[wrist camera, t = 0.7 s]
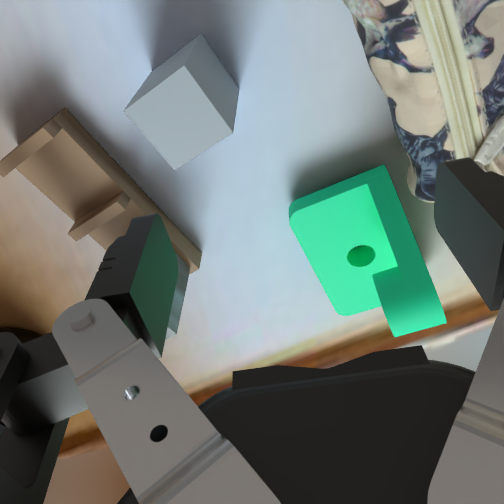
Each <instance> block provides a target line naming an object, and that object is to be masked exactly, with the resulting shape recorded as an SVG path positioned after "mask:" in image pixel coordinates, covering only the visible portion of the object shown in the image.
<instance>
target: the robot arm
mask: <svg viewBox="0 0 504 504" xmlns="http://www.w3.org/2000/svg"><path fill="white" fill-rule="evenodd" d="M434 219H435V224H436V227H437V230H438V232H439V234H440V235H441V237H442V238H443V240H444V241H445V243H446V244H447V246H448V247H449V249H450V250H451V252H452V253H453V255H454V256H455V258H456V259H457V261H458V262H459V264H460V265H461V267H462V268H463V270H464V271H465V273H466V274H467V276H468V277H469V279H470V280H471V282H472V283H473V285H474V286H475V288H476V289H477V291H478V292H479V294H480V295H481V297H482V298H483V300H484V302H485V303H486V305H487V306H488V308H489V309H490V311H494V310H499V312H498V315H497V318H496V320H495V323H494V326H493V328H492V331H491V333H490V336H489V339H488V341H487V344H486V347H485V349H484V352H483V354H482V357H481V360H480V362H479V365H478V368H477V370H476V372H474V371H472V370H469V369H466V368H464V367H461V366H458V365H454V364H450V363H446V362H440V361H434V360H428V359H427V357H426V354H425V352H424V350H423V347H422V345H420V346H413V347H406V348H399V349H391V350H384V351H377V352H372V353H369V354H367V355H364V356H361V357H359V358H356V359H353V360H351V361H348V362H345V363H342V364H340V365H337V366H334V367H331V368H327V369H318V368H306V367H293V366H280V365H276V366H269V367H262V368H255V369H247V370H240V371H233V383H232V387H229V388H227V389H224V390H222V391H220V392H219V393H217V394H215V395H213V396H212V397H210V398H209V399H207V400H206V401H204V402H203V403H202V404H201V405H199V406H198V407H197V405H196V404H195V403H194V402H193V401H192V399H191V398H190V397H189V396H188V394H187V393H186V392H185V391H184V390H183V388H182V387H181V386H180V385H179V383H178V382H177V381H176V380H175V379H174V377H173V376H172V375H171V374H170V373H169V371H168V370H167V369H166V368H165V366H164V365H163V364H162V363H161V362H160V360H159V359H158V358H161V357H162V352H163V347H164V342H165V338H166V333H167V328H168V323H169V318H170V313H171V308H172V303H173V298H174V293H175V288H176V283H177V278H178V262H177V257H176V254H175V251H174V249H173V246H172V243H171V241H170V238H169V236H168V233H167V230H166V228H165V225H164V222H163V220H162V218H161V216H160V215H159V214H158V213H155V214H150V215H144V216H139V217H134V218H132V220H131V222H130V225H129V227H128V230H127V232H126V234H125V236H120V237H118V238H117V239H116V240H115V241H114V242H113V243H112V244H111V245H110V246H109V247H108V249H107V251H106V253H105V255H104V258H103V262H101V264H100V267H99V271H98V272H97V273H96V276H95V278H94V280H93V282H92V285H91V287H90V289H89V291H88V294H87V296H86V298H85V300H84V301H81V302H79V303H76V304H74V305H73V306H71V307H69V308H68V309H66V310H65V311H64V312H63V313H62V314H61V315H60V316H59V317H58V318H57V319H56V321H55V323H54V325H53V328H52V332H51V333H49V334H46V335H44V336H41V337H39V338H36V339H33V340H31V341H28V342H26V343H23V344H22V343H21V342H20V341H19V339H18V338H17V337H16V336H15V335H14V334H13V333H10V332H0V422H1V421H2V422H3V423H4V424H5V425H6V426H5V428H4V430H3V433H2V435H1V437H0V504H43V502H44V499H45V496H46V493H47V489H48V486H49V483H50V480H51V476H52V473H53V470H54V467H55V463H56V460H57V457H58V454H59V450H60V447H61V444H62V441H63V437H64V434H65V431H66V428H67V424H68V421H69V418H70V417H71V416H73V415H75V414H78V413H80V412H82V411H85V410H87V409H89V410H90V411H91V413H92V415H93V417H94V419H95V421H96V423H97V425H98V427H99V428H100V430H101V432H102V434H103V436H104V438H105V440H106V442H107V444H108V445H109V447H110V449H111V451H112V453H113V455H114V456H115V459H116V460H117V462H118V464H119V466H120V468H121V470H122V472H123V474H124V476H125V478H126V479H127V481H128V483H129V485H130V488H129V490H128V491H127V492H126V493H125V495H124V496H123V497H122V498H121V500H120V501H119V502H118V503H117V504H504V176H502V175H500V174H498V173H495V172H493V171H489V172H485V171H484V170H483V169H481V168H480V167H479V166H478V165H477V164H476V163H475V162H474V161H473V160H472V159H471V158H469V157H466V158H461V159H455V160H450V161H444V162H440V163H439V164H438V166H437V170H436V185H435V201H434Z"/></svg>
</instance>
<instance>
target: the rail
mask: <svg viewBox="0 0 504 504" xmlns="http://www.w3.org/2000/svg"><path fill="white" fill-rule="evenodd" d="M14 168H16V169H17V170H18V171H19V172H20V173H21V174H22V175H24V176H25V177H26V178H27V179H28V180H29V181H30V182H31V183H32V184H33V185H35V186H36V187H37V188H38V189H39V190H40V191H41V192H42V193H43V194H45V195H46V196H47V197H48V198H49V199H50V200H51V201H52V202H53V203H54V204H56V205H57V206H58V207H59V208H60V209H61V210H62V211H63V212H64V213H66V214H67V215H68V216H69V217H70V218H71V219H72V220H73V221H74V222H75V223H74V225H73V226H72V228H71V230H70V231H69V233H68V234H69V235H70V236H71V237H72V238H73V239H74V240H75V241H77V240H79V239H81V238H82V237H84V236H85V235H87V234H89V235H90V236H91V237H92V238H93V239H94V240H95V241H96V242H98V243H99V244H100V245H101V246H102V247H103V248H104V249H105V250H106V251H107V249H108V247H109V246H110V245H111V244H112V243H113V242H114V241H115V240H116V239H117V238H118V237H120V236H125V234H126V232H127V230H128V227H129V225H130V222H131V220H132V218H134V217H139V216H144V215H150V214H155V213H158V214H159V215H160V216H161V218H162V220H163V222H164V225H165V228H166V230H167V233H168V236H169V238H170V241H171V243H172V246H173V249H174V251H175V254H176V257H177V262H178V278H177V283H176V288H175V293H174V298H173V303H172V308H171V313H170V318H169V323H168V328H167V333H166V338H165V339H167V338H169V337H172V336H174V335H176V334H177V329H178V325H179V320H180V315H181V310H182V306H183V301H184V296H185V291H186V286H187V282H188V277H189V274H191V273H193V272H194V271H196V270H198V269H199V267H200V261H201V256H202V253H201V252H200V251H199V250H198V249H197V248H196V247H195V246H194V245H193V244H192V243H191V242H190V240H189V239H188V238H187V237H186V236H185V235H184V234H183V233H182V232H181V231H180V230H179V229H178V228H177V227H176V226H175V225H174V223H173V222H172V221H171V220H170V219H169V218H168V217H167V216H166V215H165V214H164V213H163V212H162V211H161V210H160V209H159V207H158V206H157V205H156V204H155V203H154V202H153V201H152V200H151V199H150V198H149V197H148V196H147V195H146V194H145V193H144V191H143V190H142V189H141V188H140V187H139V186H138V185H137V184H136V183H135V182H134V181H133V180H132V179H131V178H130V177H129V175H128V174H127V173H126V172H125V171H124V170H123V169H122V168H121V167H120V166H119V165H118V164H117V163H116V162H115V161H114V159H113V158H112V157H111V156H110V155H109V154H108V153H107V152H106V151H105V150H104V149H103V148H102V147H101V146H100V145H99V144H98V142H97V141H96V140H95V139H94V138H93V137H92V136H91V135H90V134H89V133H88V132H87V131H86V130H85V129H84V128H83V126H82V125H81V124H80V123H79V122H78V121H77V120H76V119H75V118H74V117H73V116H72V115H71V114H70V113H69V112H68V110H67V109H66V108H64V109H62V110H61V111H60V112H59V113H57V114H56V115H55V116H54V117H52V118H51V119H50V120H49V121H48V122H46V123H45V124H44V125H43V126H41V127H40V128H39V129H38V130H36V131H35V132H34V133H33V134H32V135H30V136H29V137H28V138H27V139H25V140H24V141H23V142H22V143H20V144H19V145H18V146H17V147H16V148H15V149H14V150H13V151H11V152H10V153H9V154H8V155H7V156H5V157H4V158H3V159H2V160H1V161H0V175H1V176H2V177H4V176H5V175H7V174H8V173H9V172H11V171H12V170H13V169H14Z"/></svg>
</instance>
